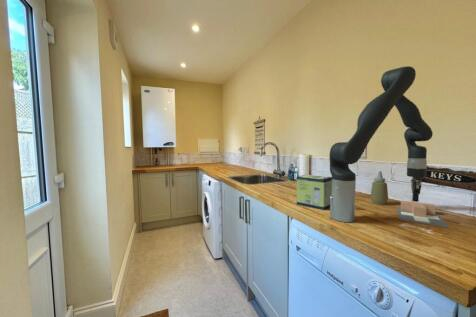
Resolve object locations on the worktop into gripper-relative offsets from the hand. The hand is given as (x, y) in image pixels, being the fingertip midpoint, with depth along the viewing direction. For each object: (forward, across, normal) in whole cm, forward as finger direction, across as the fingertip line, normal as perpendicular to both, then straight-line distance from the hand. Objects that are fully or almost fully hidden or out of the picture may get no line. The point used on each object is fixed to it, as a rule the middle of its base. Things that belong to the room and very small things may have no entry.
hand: (415, 201), depth 105 cm
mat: (+4, +16, 0) cm, 16 cm away
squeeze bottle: (+4, +1, -15) cm, 16 cm away
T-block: (+3, +12, 0) cm, 12 cm away
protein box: (+4, +22, -44) cm, 50 cm away
